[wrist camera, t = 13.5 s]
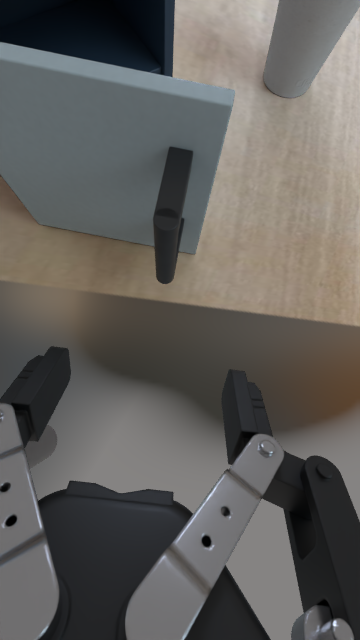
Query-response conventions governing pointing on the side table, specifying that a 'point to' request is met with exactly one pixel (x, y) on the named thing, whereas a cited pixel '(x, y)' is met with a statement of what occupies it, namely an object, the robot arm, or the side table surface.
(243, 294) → the side table surface
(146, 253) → the side table surface
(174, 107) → the door
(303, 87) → the dixie cup
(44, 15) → the cabinet
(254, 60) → the side table surface
